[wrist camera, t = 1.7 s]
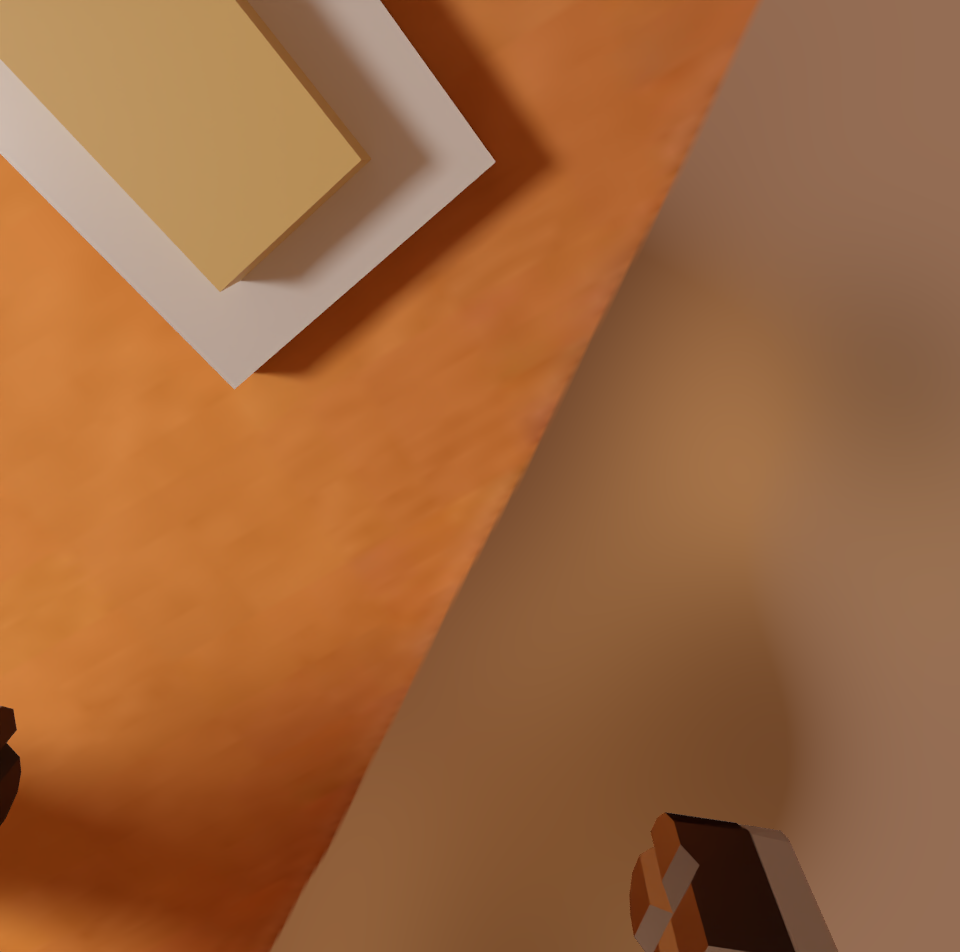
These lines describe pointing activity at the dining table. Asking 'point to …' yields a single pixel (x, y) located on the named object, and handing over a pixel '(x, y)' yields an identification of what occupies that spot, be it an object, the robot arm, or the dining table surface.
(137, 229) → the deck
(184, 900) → the dining table surface
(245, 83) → the yellow rectangular block
